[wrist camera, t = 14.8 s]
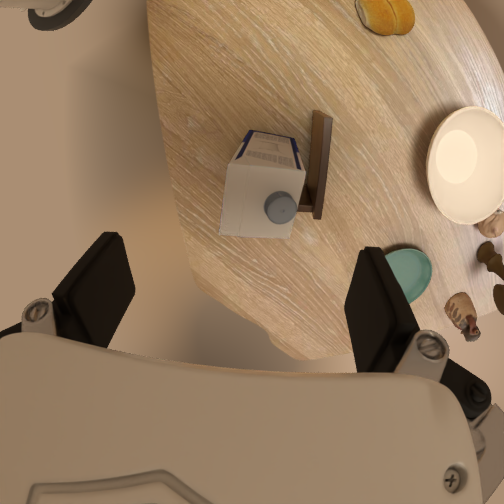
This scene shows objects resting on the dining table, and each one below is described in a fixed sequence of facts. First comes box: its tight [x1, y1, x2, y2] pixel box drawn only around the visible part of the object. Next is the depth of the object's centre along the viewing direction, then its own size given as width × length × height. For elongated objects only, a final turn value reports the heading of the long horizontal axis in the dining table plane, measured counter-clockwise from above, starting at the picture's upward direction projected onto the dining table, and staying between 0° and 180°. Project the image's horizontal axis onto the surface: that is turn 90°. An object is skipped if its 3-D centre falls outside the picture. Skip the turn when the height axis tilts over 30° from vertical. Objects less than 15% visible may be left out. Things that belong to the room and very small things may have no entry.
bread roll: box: [355, 0, 415, 35], centre depth 25 cm, size 8×9×4 cm
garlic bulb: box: [478, 208, 504, 238], centre depth 38 cm, size 7×6×8 cm
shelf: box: [297, 110, 333, 220], centre depth 36 cm, size 10×13×10 cm
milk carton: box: [219, 130, 306, 239], centre depth 33 cm, size 7×7×20 cm
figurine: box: [445, 292, 481, 342], centre depth 49 cm, size 7×7×12 cm
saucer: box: [385, 248, 432, 304], centre depth 50 cm, size 15×15×3 cm
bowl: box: [426, 106, 504, 225], centre depth 34 cm, size 20×20×7 cm
